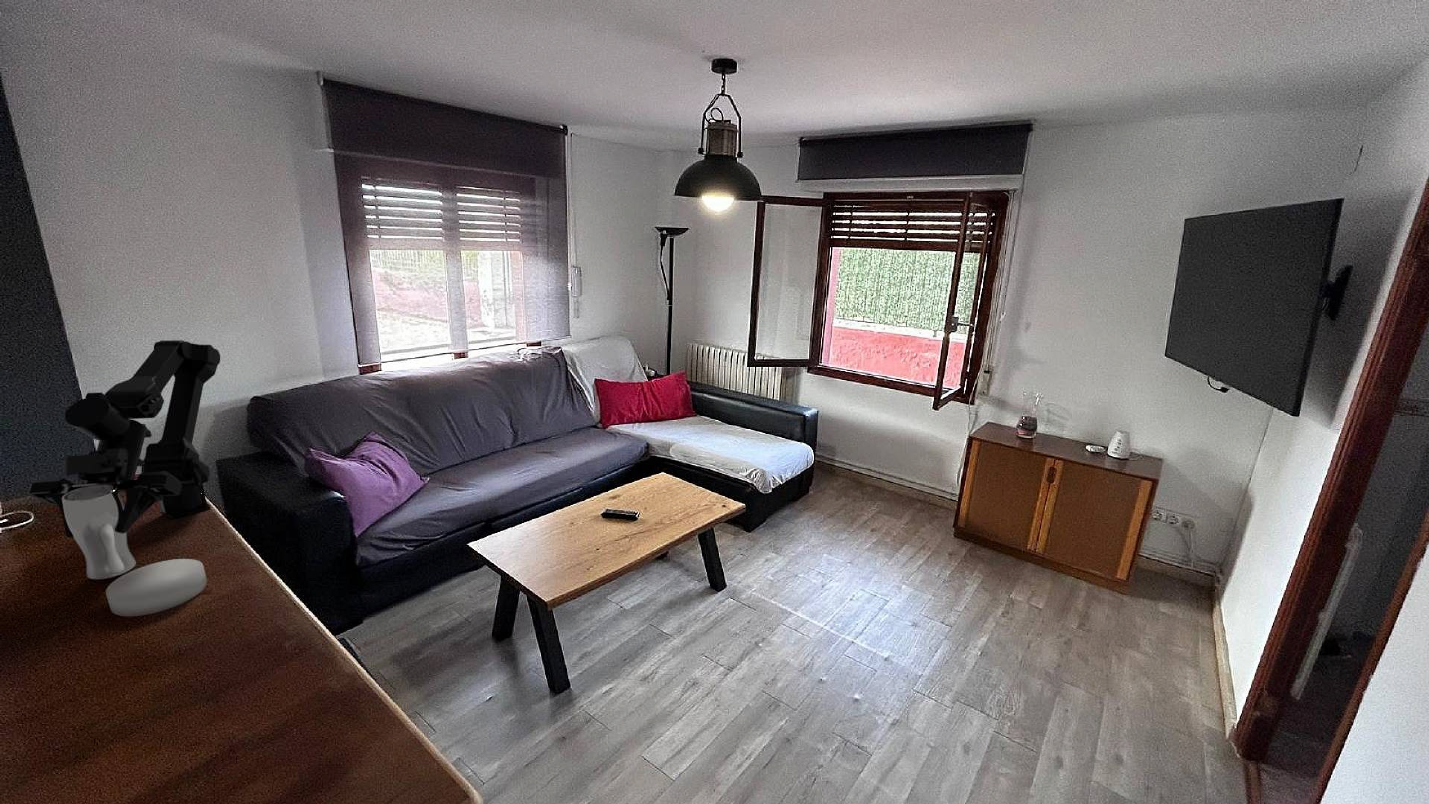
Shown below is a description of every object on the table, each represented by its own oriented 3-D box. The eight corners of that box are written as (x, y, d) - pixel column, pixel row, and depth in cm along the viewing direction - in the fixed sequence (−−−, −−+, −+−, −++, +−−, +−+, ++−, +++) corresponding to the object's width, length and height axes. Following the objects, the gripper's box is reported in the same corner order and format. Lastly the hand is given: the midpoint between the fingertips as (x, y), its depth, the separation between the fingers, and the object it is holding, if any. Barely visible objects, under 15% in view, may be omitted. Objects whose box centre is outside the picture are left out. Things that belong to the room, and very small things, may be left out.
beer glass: (150, 560, 107) (130, 485, 102) (108, 583, 100) (85, 503, 95) (115, 556, 107) (93, 481, 103) (71, 579, 100) (46, 499, 96)
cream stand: (192, 566, 107) (189, 551, 106) (218, 589, 101) (214, 574, 100) (100, 597, 98) (96, 582, 97) (123, 626, 91) (118, 609, 90)
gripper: (18, 435, 97) (-16, 528, 90) (158, 428, 103) (136, 515, 96) (64, 461, 107) (37, 546, 100) (190, 453, 112) (173, 534, 105)
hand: (95, 535), depth 100 cm, fingers closed on beer glass, 6 cm apart
